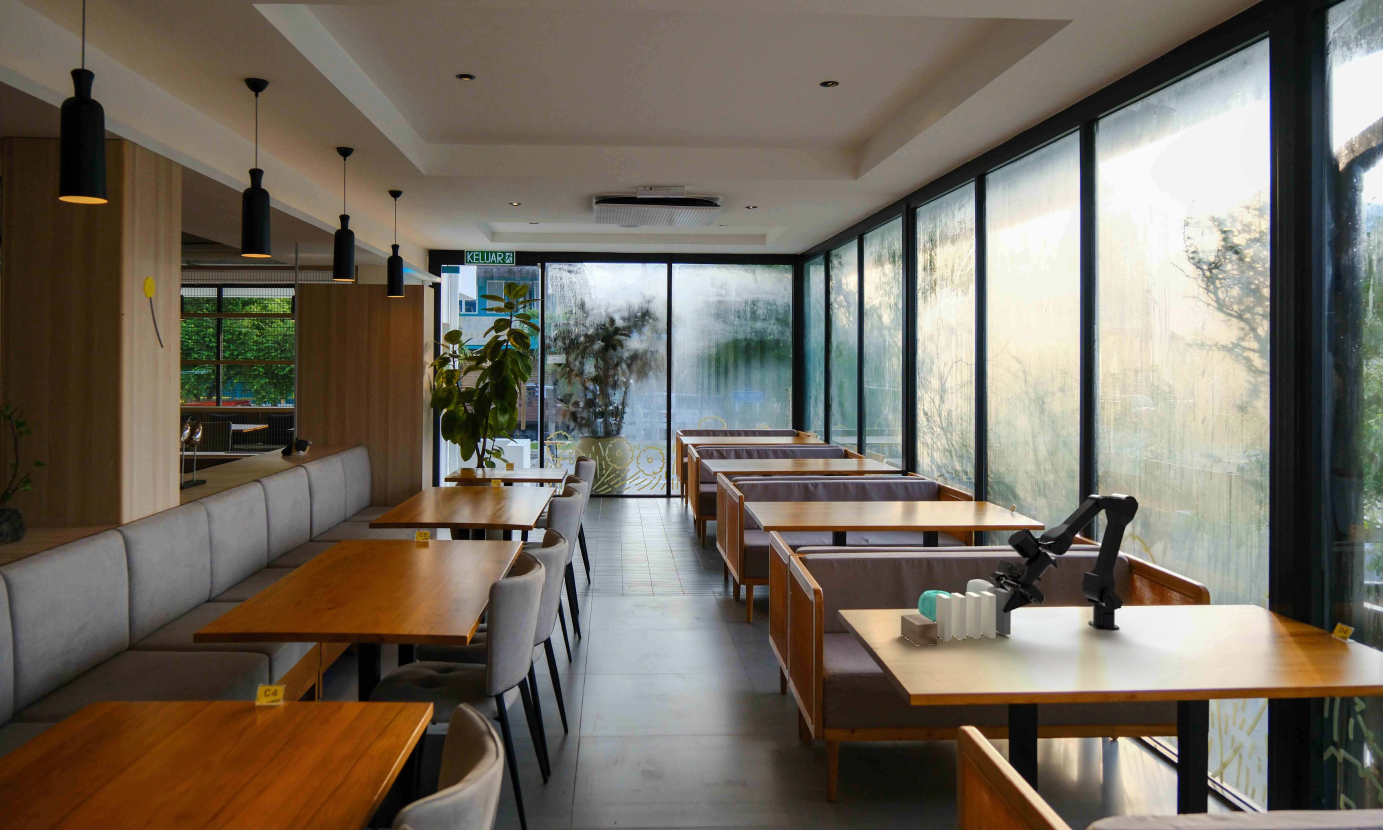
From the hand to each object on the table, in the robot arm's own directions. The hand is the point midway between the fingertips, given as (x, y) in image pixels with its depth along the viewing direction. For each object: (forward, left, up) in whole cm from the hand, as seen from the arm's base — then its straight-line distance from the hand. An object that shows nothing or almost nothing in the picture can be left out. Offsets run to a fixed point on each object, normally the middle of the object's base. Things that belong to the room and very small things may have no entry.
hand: (998, 609), depth 238 cm
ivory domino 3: (+2, -7, -7) cm, 11 cm away
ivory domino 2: (+3, -12, -7) cm, 14 cm away
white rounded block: (-14, -1, -7) cm, 16 cm away
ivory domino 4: (+1, -3, -7) cm, 8 cm away
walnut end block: (+6, -23, -7) cm, 25 cm away
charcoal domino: (0, +1, -7) cm, 7 cm away
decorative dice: (-15, -14, -7) cm, 22 cm away
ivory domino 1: (+4, -16, -7) cm, 18 cm away
